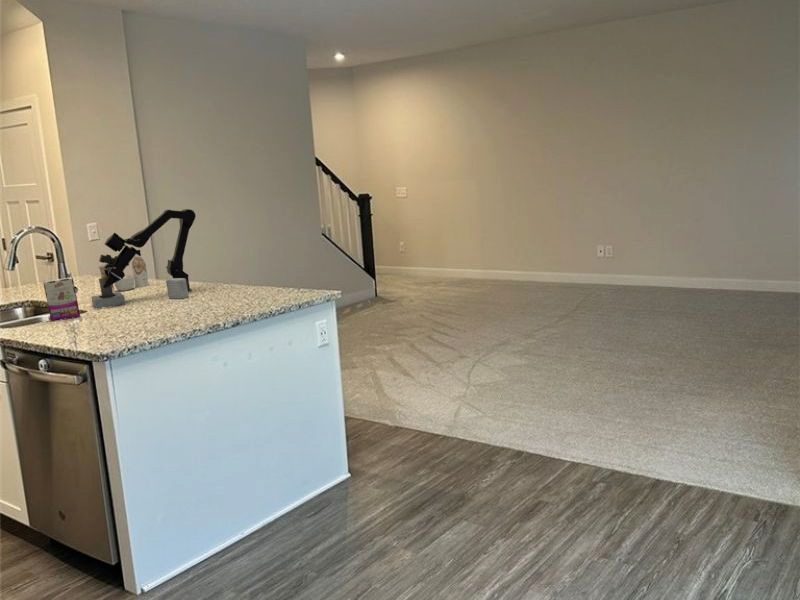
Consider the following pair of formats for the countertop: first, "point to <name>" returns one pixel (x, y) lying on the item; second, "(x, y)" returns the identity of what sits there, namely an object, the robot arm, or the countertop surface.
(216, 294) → the countertop surface
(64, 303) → the candy bar box
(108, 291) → the grey upright block
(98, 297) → the housing
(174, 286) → the medicine box
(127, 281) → the cosmetic set
